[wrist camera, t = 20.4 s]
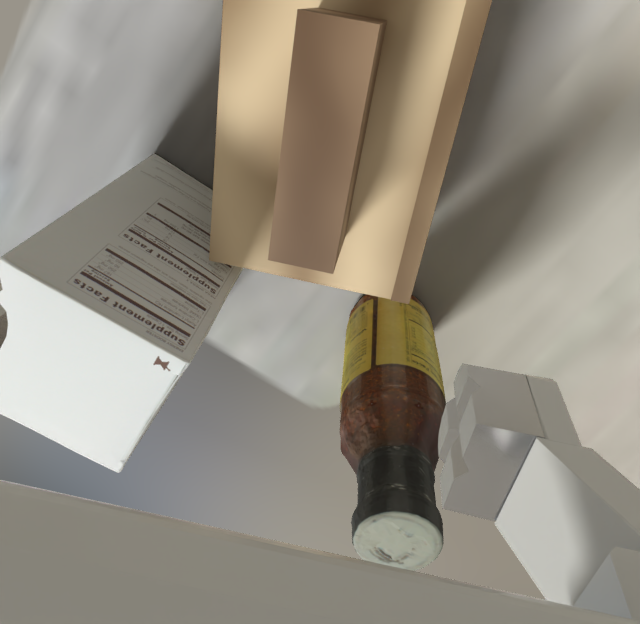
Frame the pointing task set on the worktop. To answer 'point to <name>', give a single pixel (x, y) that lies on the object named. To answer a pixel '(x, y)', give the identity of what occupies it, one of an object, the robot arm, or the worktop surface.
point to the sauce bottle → (393, 431)
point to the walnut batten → (323, 134)
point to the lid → (379, 143)
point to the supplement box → (110, 311)
